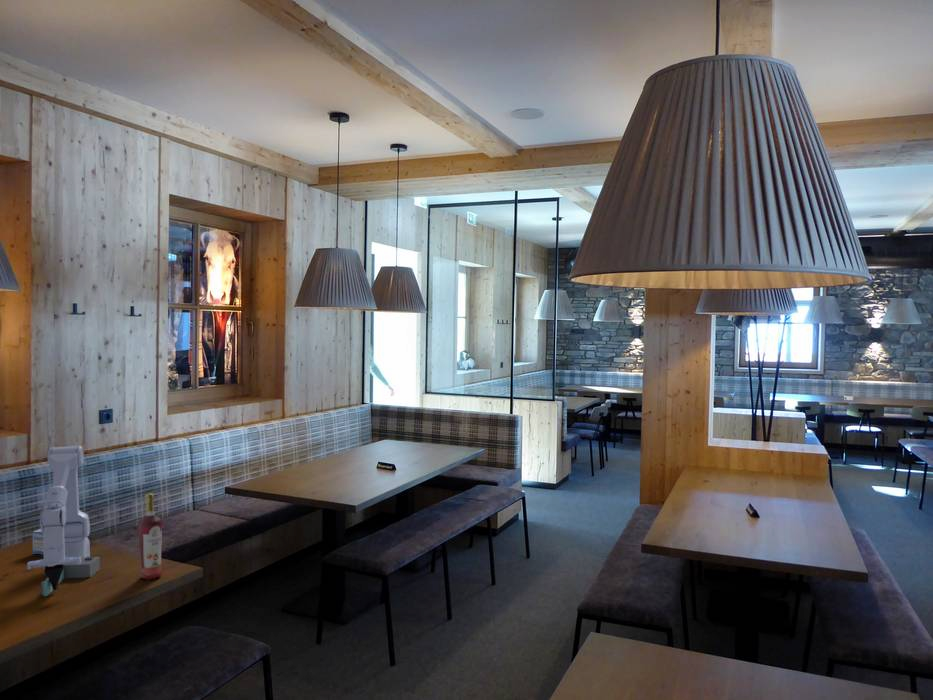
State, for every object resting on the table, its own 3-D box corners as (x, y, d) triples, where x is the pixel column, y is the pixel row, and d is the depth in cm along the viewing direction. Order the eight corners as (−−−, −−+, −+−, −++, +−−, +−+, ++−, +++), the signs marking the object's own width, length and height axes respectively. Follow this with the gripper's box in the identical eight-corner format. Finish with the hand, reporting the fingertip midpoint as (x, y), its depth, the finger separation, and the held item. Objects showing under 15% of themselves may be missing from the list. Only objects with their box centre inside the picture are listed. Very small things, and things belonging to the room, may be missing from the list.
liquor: (146, 583, 222) (144, 498, 220) (135, 578, 226) (132, 495, 225) (167, 576, 227) (165, 493, 226) (156, 571, 232) (154, 490, 231)
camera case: (72, 570, 233) (72, 556, 233) (99, 569, 234) (99, 555, 234) (62, 578, 226) (61, 563, 226) (90, 577, 227) (89, 562, 227)
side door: (58, 578, 226) (58, 564, 226) (65, 577, 226) (64, 563, 226) (40, 596, 211) (40, 581, 210) (47, 596, 211) (47, 581, 211)
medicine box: (32, 555, 249) (31, 531, 249) (41, 551, 254) (41, 528, 253) (51, 556, 248) (50, 532, 248) (60, 552, 253) (59, 529, 252)
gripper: (23, 552, 207) (24, 596, 208) (76, 547, 211) (77, 590, 212) (30, 545, 214) (32, 587, 215) (82, 540, 218) (83, 582, 219)
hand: (55, 588), depth 214 cm, fingers closed
